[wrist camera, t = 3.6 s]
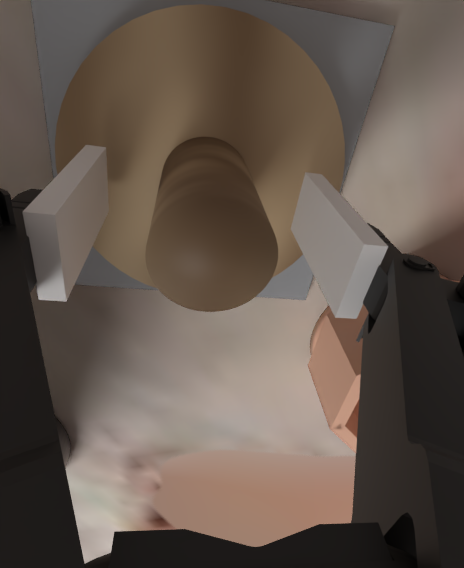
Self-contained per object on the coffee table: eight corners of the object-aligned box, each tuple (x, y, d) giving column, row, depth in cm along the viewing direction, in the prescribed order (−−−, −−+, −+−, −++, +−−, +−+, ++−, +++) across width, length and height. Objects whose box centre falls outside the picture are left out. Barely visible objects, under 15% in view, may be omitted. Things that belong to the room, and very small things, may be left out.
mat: (70, 278, 21) (66, 284, 20) (30, -46, 13) (24, -49, 13) (303, 294, 23) (305, 299, 22) (388, 26, 15) (394, 25, 15)
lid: (75, 277, 20) (19, 395, 14) (42, -27, 13) (-112, -89, 6) (299, 293, 22) (345, 402, 16) (378, 38, 15) (524, 42, 8)
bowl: (293, 384, 28) (314, 459, 23) (337, 262, 22) (379, 328, 17) (422, 388, 30) (468, 458, 25) (496, 275, 24) (577, 339, 19)
